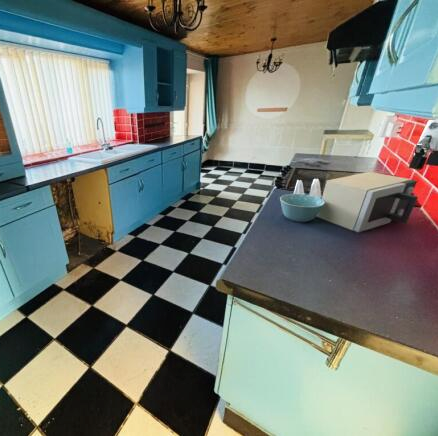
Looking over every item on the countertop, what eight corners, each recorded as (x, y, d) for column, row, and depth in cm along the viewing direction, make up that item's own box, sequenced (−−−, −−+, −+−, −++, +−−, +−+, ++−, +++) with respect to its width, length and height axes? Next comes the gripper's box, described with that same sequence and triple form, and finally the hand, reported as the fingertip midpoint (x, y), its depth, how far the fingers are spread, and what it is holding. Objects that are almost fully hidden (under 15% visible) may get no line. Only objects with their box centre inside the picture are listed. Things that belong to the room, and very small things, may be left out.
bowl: (274, 221, 99) (277, 202, 95) (279, 208, 111) (282, 191, 107) (319, 229, 91) (325, 209, 87) (319, 214, 102) (324, 196, 99)
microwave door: (407, 228, 88) (426, 187, 81) (375, 239, 82) (392, 196, 76) (385, 220, 94) (400, 182, 87) (353, 230, 88) (367, 190, 82)
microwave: (403, 219, 94) (420, 180, 87) (359, 233, 86) (375, 191, 80) (357, 206, 108) (369, 171, 101) (316, 216, 101) (326, 180, 94)
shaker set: (320, 200, 117) (326, 178, 113) (320, 202, 114) (327, 180, 109) (292, 197, 123) (296, 176, 118) (292, 199, 120) (296, 178, 115)
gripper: (450, 112, 66) (424, 172, 73) (482, 109, 71) (454, 165, 79) (415, 113, 73) (393, 168, 80) (446, 109, 78) (423, 162, 85)
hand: (423, 167), depth 79 cm, fingers open, 9 cm apart
